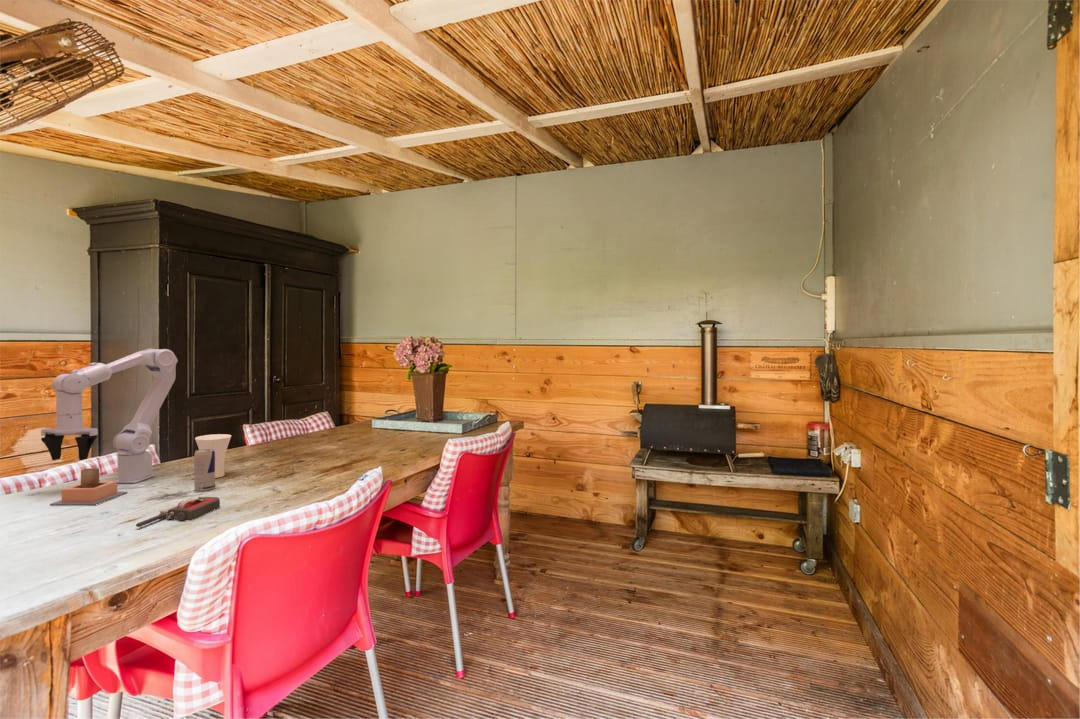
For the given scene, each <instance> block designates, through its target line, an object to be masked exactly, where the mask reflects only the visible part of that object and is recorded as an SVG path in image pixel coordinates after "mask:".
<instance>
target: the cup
mask: <svg viewBox="0 0 1080 719" xmlns="http://www.w3.org/2000/svg"><path fill="white" fill-rule="evenodd" d="M231 438H232V435H231V434H225V433H223V434H222V433H217V434H205V435H200V436H196V437H195V438H194V440H195V442H196V445H197V447H198V450H203V449H213V450H214V452H215V479H216V478H217V479H218V478H221V477H224V476H225V474H226V473H225V459H226V453H227V451H228V447H229V444H230V441H231Z"/></svg>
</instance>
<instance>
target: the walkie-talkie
mask: <svg viewBox="0 0 1080 719" xmlns="http://www.w3.org/2000/svg"><path fill="white" fill-rule="evenodd" d="M177 504H178V505H175V506H172V507H170V508H166V509H164V510H163V509H162V510H161V511H160V512H159V514H157V515H156V516H153V517H150V518H148V519H145V520H142V521H139V522H137V523H136V524H135V526H136V527H137V528H140V527H143V526H145V525H148V524H151V523H153V522H155V521H158V520H163V519H162V518H166V519H165V520H167V521H170V520H169V519H175V520H174V521H180V522H181V521H182V522H183V521H185V520H190V521H193V520H195V519H197V518H200V517H202V516H204V515H206V514H205V513H207V514H209V513H211V512H214V511H215V510H214V509H216V510H218V509H217V508H219V507H220V508H221V506H220V504H221V503H220V497H214V496H197V498H195V497H194V498H188V499H185V500H182V501H180V502H178V503H177ZM220 508H219V509H220ZM213 510H214V511H213ZM210 511H211V512H210ZM208 512H209V513H208ZM201 515H202V516H201ZM199 516H200V517H199ZM194 518H195V519H194ZM192 519H193V520H192Z"/></svg>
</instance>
